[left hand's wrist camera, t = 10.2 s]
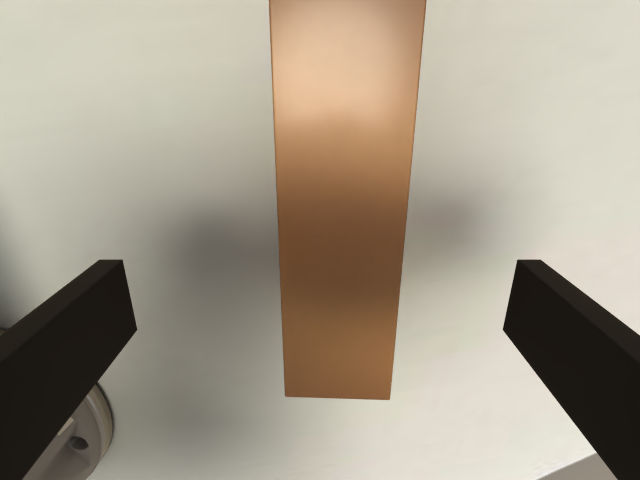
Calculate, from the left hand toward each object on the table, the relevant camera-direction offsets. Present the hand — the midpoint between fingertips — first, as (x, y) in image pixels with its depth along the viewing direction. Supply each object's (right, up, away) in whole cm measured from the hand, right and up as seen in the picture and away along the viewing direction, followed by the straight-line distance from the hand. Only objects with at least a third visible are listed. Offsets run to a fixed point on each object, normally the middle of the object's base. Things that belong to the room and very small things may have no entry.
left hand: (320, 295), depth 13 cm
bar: (+1, +24, +2) cm, 24 cm away
